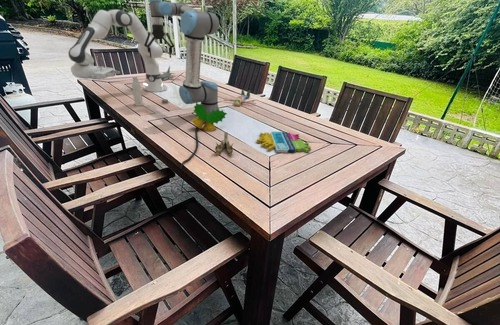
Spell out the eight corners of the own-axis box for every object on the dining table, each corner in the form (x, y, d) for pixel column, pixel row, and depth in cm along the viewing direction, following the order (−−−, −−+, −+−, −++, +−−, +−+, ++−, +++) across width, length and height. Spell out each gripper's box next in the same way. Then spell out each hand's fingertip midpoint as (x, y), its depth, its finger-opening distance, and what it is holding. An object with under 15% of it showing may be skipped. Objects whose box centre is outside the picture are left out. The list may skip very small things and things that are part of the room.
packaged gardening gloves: (313, 150, 142) (258, 149, 139) (312, 153, 143) (258, 152, 140) (301, 132, 164) (254, 130, 161) (301, 134, 165) (254, 133, 162)
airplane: (145, 76, 282) (144, 66, 276) (174, 74, 295) (174, 65, 290) (151, 85, 253) (150, 74, 248) (183, 83, 266) (183, 72, 261)
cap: (169, 102, 207) (168, 99, 206) (166, 103, 203) (165, 101, 202) (164, 101, 207) (163, 98, 206) (161, 103, 204) (160, 100, 203)
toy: (261, 91, 228) (254, 99, 202) (261, 99, 231) (253, 108, 205) (231, 87, 233) (220, 95, 207) (230, 95, 236) (219, 104, 210)
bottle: (134, 105, 194) (129, 77, 185) (136, 103, 199) (131, 75, 189) (141, 105, 195) (137, 77, 185) (143, 103, 200) (139, 76, 190)
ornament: (218, 133, 171) (224, 110, 169) (221, 134, 163) (227, 111, 161) (186, 125, 162) (192, 101, 160) (189, 126, 155) (195, 101, 153)
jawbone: (234, 135, 144) (233, 125, 135) (233, 160, 138) (232, 151, 129) (217, 135, 144) (216, 125, 135) (216, 160, 138) (214, 150, 129)
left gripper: (88, 70, 174) (109, 72, 175) (102, 65, 192) (121, 66, 193) (90, 80, 177) (111, 81, 178) (103, 74, 195) (122, 75, 196)
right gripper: (175, 25, 186) (177, 56, 196) (137, 23, 177) (141, 56, 187) (177, 25, 180) (179, 58, 190) (138, 23, 171) (142, 58, 181)
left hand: (116, 73), depth 186 cm, fingers open, 8 cm apart
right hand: (160, 57), depth 189 cm, fingers open, 13 cm apart
